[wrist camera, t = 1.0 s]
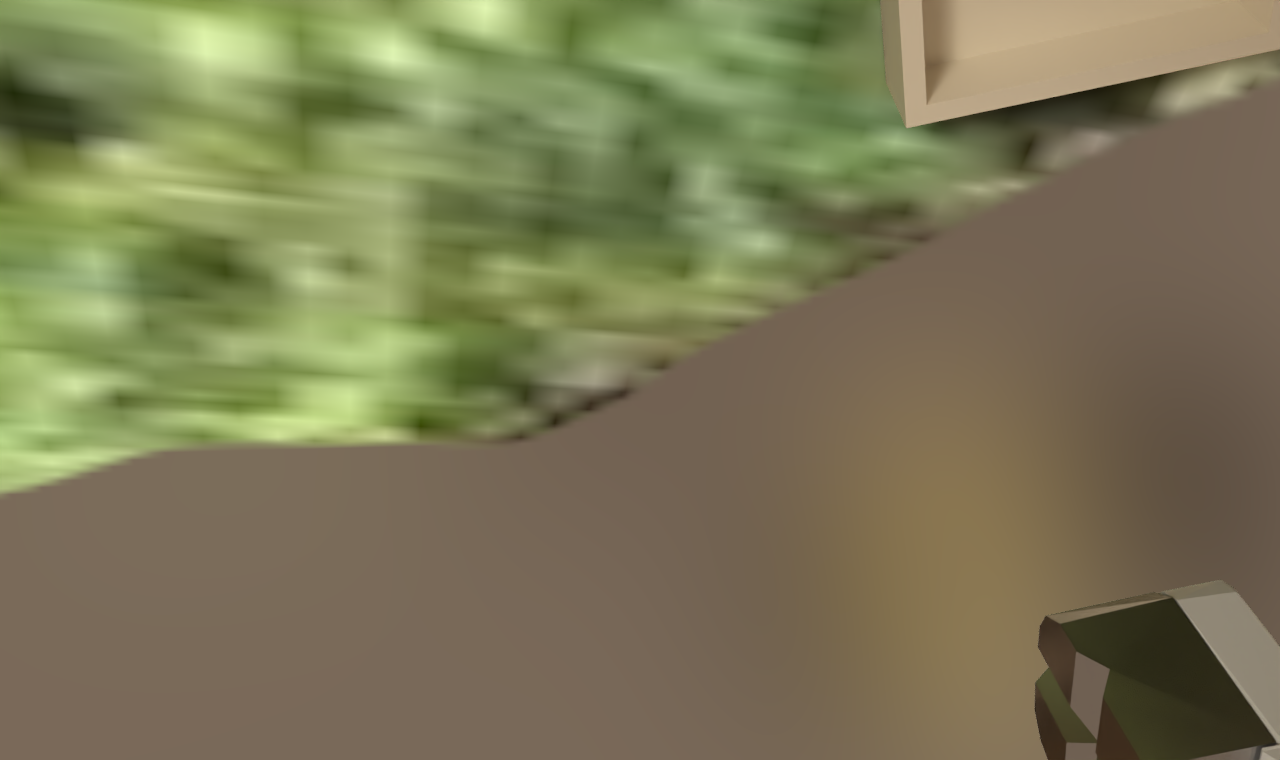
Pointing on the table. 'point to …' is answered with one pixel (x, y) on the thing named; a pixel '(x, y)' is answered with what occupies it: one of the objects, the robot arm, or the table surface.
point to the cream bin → (1054, 47)
